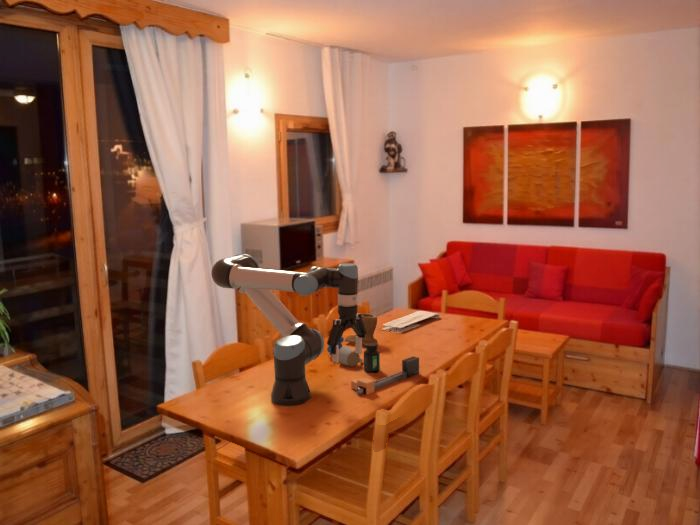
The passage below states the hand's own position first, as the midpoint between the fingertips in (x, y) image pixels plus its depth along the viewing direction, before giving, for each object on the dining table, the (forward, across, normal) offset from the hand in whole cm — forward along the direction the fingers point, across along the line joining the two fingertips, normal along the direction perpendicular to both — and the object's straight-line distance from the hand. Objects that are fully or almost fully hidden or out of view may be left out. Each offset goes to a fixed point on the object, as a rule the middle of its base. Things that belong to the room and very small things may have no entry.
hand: (347, 357), depth 233 cm
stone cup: (+15, +53, +37) cm, 67 cm away
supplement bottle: (+14, +25, +8) cm, 30 cm away
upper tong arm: (+14, +17, -7) cm, 23 cm away
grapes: (+15, +31, +36) cm, 50 cm away
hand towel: (+15, +98, +40) cm, 106 cm away
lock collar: (+14, +4, -4) cm, 15 cm away
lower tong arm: (+14, +19, -9) cm, 25 cm away
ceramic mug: (+15, +26, +21) cm, 37 cm away
